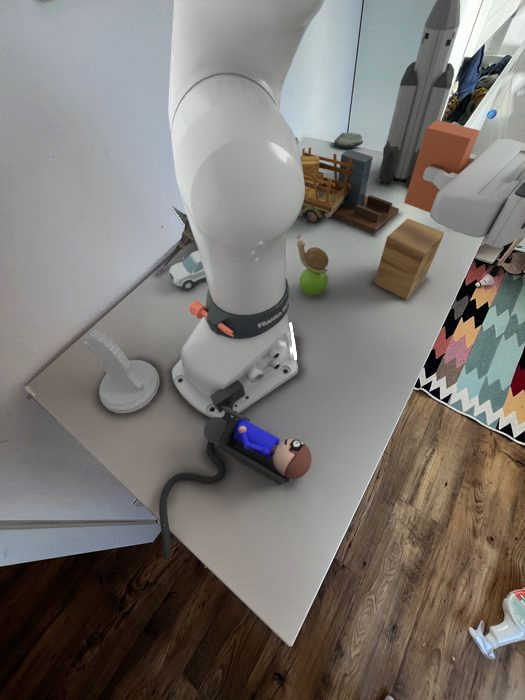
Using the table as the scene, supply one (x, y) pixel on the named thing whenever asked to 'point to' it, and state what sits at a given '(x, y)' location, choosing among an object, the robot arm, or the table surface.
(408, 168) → the toy rocket
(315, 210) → the toy truck
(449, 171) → the back pad
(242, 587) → the table surface
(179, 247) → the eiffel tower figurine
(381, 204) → the pad mount
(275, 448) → the character figurine
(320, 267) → the snail figurine
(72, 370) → the table surface
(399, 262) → the block
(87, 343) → the white curved piece
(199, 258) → the toy car
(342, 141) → the stone
